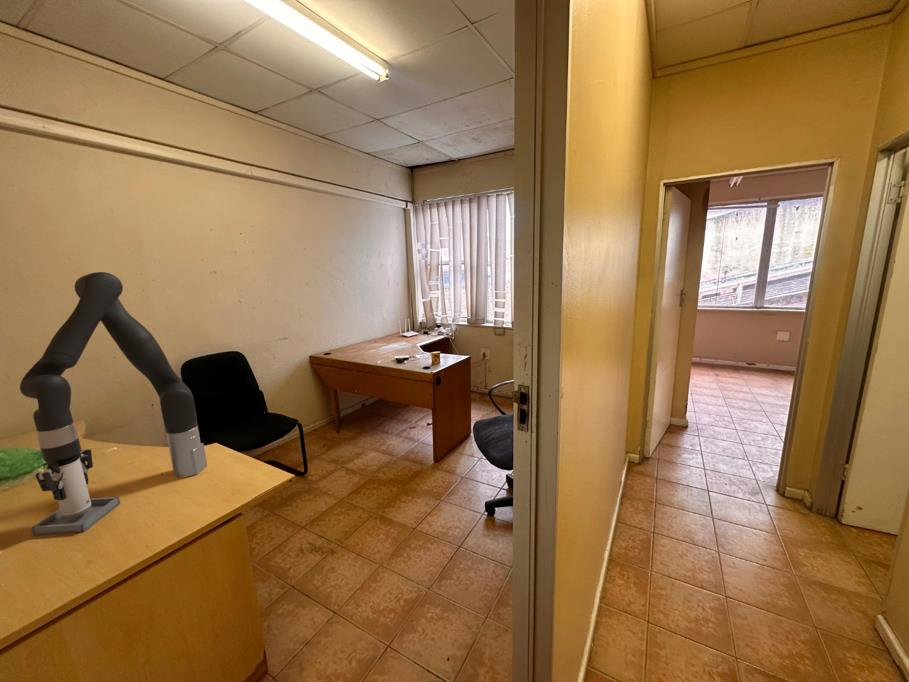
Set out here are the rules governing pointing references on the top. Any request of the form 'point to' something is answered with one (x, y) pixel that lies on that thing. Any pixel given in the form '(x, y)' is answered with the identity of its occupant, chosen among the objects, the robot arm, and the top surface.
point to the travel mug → (73, 488)
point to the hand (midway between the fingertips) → (72, 491)
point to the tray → (76, 518)
